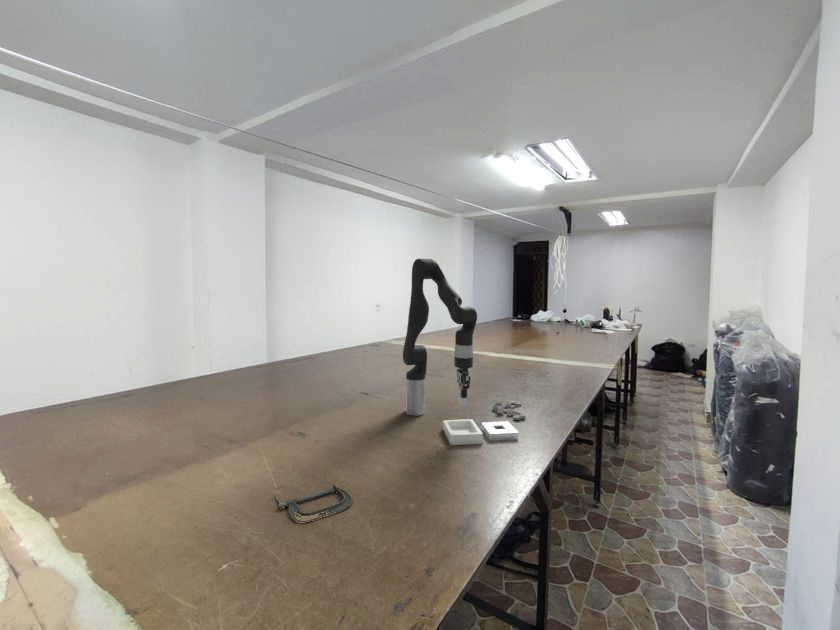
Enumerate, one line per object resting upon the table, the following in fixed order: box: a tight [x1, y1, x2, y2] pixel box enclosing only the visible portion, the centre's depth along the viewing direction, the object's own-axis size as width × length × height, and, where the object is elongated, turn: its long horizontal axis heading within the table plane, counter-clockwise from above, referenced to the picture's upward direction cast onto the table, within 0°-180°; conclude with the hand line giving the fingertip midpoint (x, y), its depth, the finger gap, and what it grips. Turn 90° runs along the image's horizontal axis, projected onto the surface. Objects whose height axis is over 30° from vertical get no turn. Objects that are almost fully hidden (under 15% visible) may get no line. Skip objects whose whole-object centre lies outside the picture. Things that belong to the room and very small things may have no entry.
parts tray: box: [442, 418, 484, 446], centre depth 157 cm, size 13×16×4 cm
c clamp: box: [278, 484, 353, 522], centre depth 110 cm, size 20×17×3 cm
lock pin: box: [457, 385, 469, 407], centre depth 156 cm, size 4×4×8 cm
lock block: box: [480, 421, 519, 442], centre depth 159 cm, size 12×12×3 cm
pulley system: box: [492, 400, 527, 421], centre depth 188 cm, size 27×5×15 cm
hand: (462, 396), depth 156 cm, fingers closed on lock pin, 3 cm apart
